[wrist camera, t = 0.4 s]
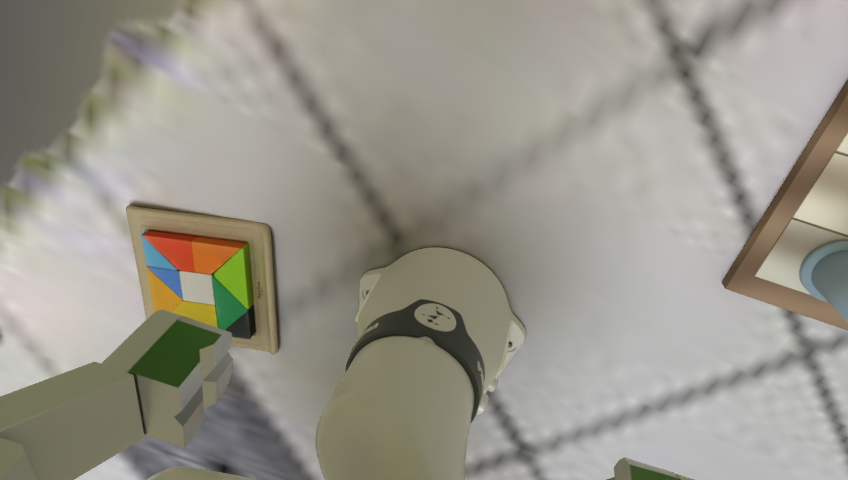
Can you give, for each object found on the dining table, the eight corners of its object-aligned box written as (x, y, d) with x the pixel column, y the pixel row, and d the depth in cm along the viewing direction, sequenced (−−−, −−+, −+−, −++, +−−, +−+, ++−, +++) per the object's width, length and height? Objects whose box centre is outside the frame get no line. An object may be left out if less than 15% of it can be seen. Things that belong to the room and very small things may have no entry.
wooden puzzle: (284, 350, 66) (270, 367, 62) (153, 323, 69) (133, 338, 66) (276, 223, 58) (261, 235, 55) (130, 200, 62) (107, 210, 59)
